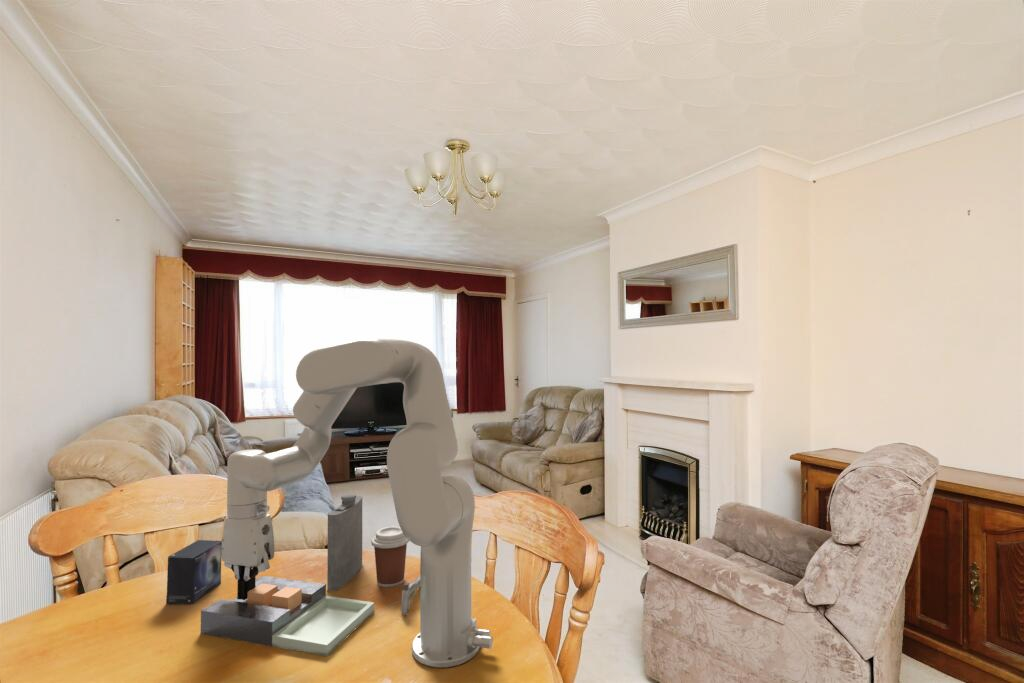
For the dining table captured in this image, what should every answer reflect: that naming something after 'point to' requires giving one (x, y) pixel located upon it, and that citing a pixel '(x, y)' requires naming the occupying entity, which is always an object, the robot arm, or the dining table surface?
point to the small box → (193, 572)
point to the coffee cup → (390, 556)
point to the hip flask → (344, 541)
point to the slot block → (257, 613)
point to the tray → (323, 625)
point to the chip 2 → (287, 598)
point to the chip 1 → (262, 594)
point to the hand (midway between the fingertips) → (246, 596)
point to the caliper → (408, 594)
